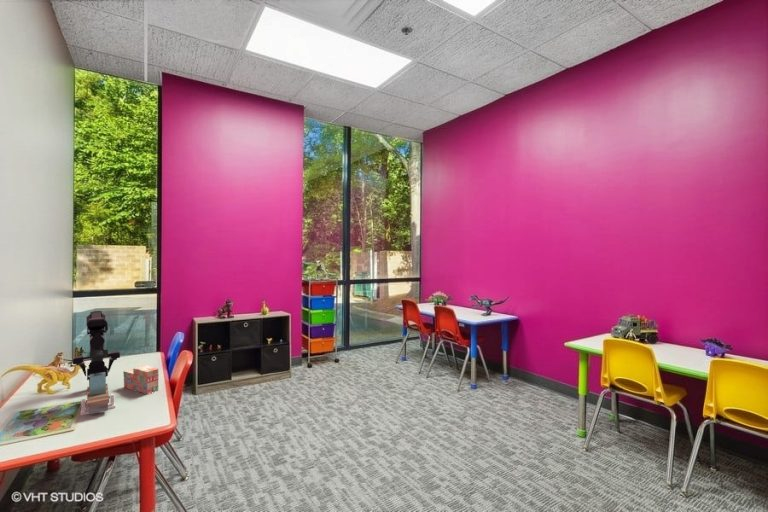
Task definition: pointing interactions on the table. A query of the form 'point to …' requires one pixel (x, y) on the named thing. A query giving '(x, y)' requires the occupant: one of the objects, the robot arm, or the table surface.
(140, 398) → the table surface
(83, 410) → the pivot stand
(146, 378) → the stack of blocks
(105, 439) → the table surface
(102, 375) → the grey rectangular block
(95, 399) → the beam
